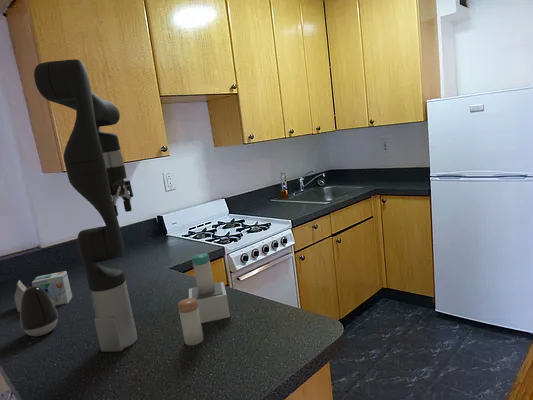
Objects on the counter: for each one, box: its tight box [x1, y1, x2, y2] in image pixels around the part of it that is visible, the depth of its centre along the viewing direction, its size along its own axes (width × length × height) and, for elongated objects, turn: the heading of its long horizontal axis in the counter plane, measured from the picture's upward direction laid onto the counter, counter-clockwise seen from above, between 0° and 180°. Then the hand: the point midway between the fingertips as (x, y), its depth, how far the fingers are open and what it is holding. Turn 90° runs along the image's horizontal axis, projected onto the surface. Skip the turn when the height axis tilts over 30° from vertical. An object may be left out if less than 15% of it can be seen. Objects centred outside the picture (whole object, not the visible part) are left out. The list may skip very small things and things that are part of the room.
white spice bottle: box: [177, 297, 205, 346], centre depth 103 cm, size 5×5×11 cm
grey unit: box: [188, 281, 231, 324], centre depth 119 cm, size 11×11×7 cm
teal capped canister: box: [191, 252, 215, 294], centre depth 117 cm, size 5×5×11 cm
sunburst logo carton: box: [13, 279, 27, 313], centre depth 146 cm, size 4×7×10 cm, turn 27°
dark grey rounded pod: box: [19, 285, 59, 337], centre depth 122 cm, size 10×10×15 cm
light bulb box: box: [31, 270, 73, 307], centre depth 146 cm, size 11×7×11 cm, turn 106°
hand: (122, 213), depth 130 cm, fingers open, 8 cm apart
